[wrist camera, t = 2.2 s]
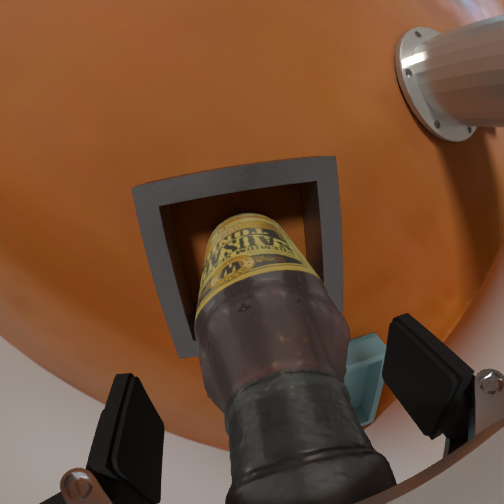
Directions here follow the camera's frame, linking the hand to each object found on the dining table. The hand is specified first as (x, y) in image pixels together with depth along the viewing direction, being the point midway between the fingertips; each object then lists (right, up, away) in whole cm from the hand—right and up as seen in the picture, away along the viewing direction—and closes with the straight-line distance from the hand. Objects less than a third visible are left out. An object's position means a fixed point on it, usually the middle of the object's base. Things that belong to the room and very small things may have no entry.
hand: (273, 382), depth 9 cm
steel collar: (-1, +5, +13) cm, 14 cm away
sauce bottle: (-1, +5, +13) cm, 14 cm away
